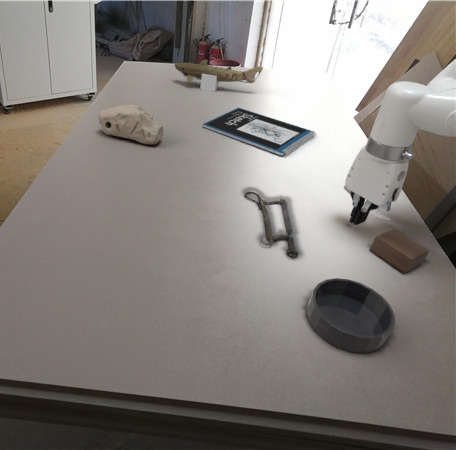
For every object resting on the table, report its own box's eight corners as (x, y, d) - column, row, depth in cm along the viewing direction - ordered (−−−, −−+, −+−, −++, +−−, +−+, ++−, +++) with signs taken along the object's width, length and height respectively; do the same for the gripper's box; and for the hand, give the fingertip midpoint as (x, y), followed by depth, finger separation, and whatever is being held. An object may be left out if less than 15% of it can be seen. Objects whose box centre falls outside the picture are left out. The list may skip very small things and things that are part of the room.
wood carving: (255, 99, 157) (261, 69, 150) (170, 85, 165) (172, 57, 159) (259, 92, 163) (264, 63, 157) (176, 79, 172) (178, 51, 165)
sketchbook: (237, 111, 147) (238, 105, 145) (315, 137, 131) (317, 131, 130) (202, 127, 133) (203, 121, 132) (284, 158, 118) (286, 152, 117)
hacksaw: (298, 260, 82) (299, 254, 82) (247, 253, 83) (248, 248, 83) (285, 196, 102) (286, 191, 101) (243, 192, 102) (245, 187, 102)
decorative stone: (95, 135, 125) (94, 104, 119) (107, 126, 131) (106, 96, 125) (155, 149, 119) (157, 117, 113) (165, 139, 125) (167, 108, 119)
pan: (339, 284, 77) (346, 269, 75) (401, 333, 69) (411, 318, 66) (290, 309, 72) (296, 294, 69) (351, 366, 63) (360, 350, 61)
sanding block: (386, 242, 88) (394, 228, 86) (421, 265, 83) (430, 250, 81) (369, 250, 86) (376, 236, 83) (403, 274, 80) (411, 259, 78)
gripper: (434, 159, 76) (396, 235, 88) (366, 130, 87) (340, 201, 98) (411, 168, 73) (374, 246, 84) (343, 137, 83) (318, 209, 94)
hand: (356, 221), depth 91 cm, fingers closed
